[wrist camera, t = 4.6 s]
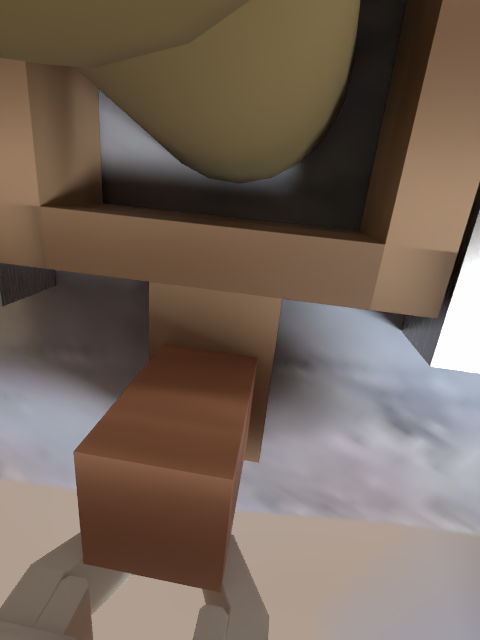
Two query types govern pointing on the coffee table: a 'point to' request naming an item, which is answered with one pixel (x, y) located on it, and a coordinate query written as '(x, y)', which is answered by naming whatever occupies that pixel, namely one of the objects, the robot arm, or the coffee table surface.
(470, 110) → the frame
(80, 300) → the coffee table surface
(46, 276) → the lane rails
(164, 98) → the cork
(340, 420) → the coffee table surface
